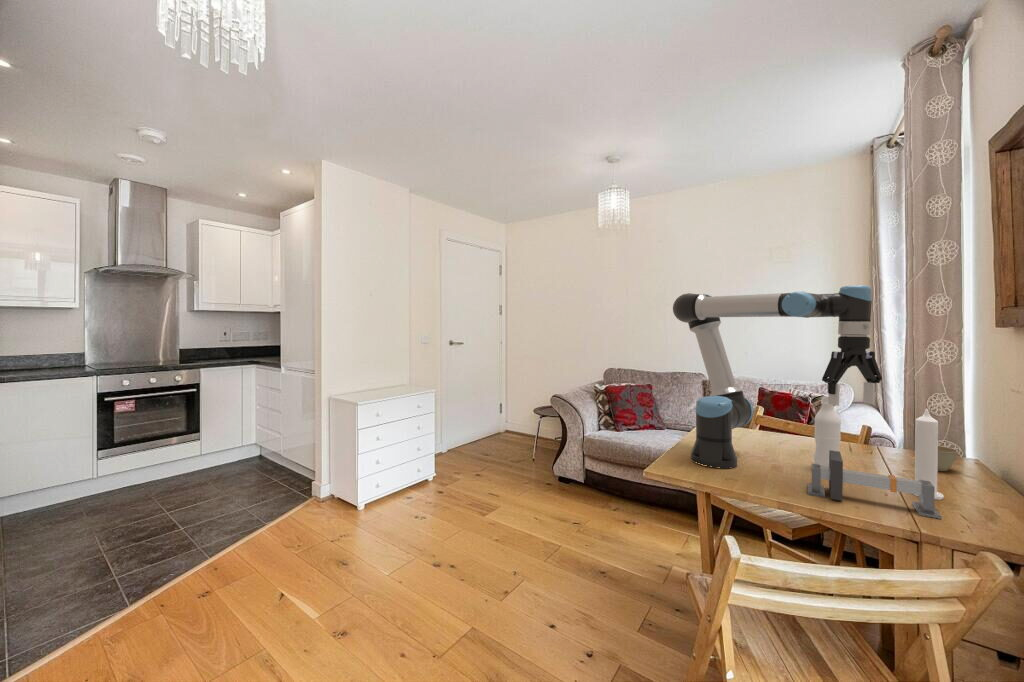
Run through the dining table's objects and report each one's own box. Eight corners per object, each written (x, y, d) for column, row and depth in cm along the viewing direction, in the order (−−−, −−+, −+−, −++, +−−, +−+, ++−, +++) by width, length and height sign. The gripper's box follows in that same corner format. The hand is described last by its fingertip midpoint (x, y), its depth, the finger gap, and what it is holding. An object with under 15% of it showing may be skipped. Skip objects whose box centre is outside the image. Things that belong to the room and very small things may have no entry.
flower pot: (937, 464, 140) (938, 444, 140) (967, 474, 130) (967, 452, 130) (906, 463, 141) (907, 443, 141) (933, 473, 131) (934, 452, 131)
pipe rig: (807, 494, 116) (807, 467, 116) (807, 485, 122) (807, 460, 122) (941, 519, 100) (941, 488, 99) (933, 507, 106) (933, 479, 106)
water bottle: (841, 474, 131) (841, 399, 130) (813, 470, 135) (814, 397, 134) (840, 468, 136) (840, 396, 136) (813, 464, 141) (814, 394, 140)
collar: (830, 498, 111) (831, 459, 111) (828, 486, 120) (829, 450, 120) (842, 500, 110) (842, 461, 110) (839, 488, 119) (839, 451, 118)
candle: (906, 487, 120) (907, 405, 119) (940, 493, 115) (942, 408, 115) (910, 495, 114) (911, 409, 114) (946, 501, 110) (947, 412, 109)
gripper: (833, 336, 116) (830, 408, 117) (899, 336, 121) (896, 404, 122) (809, 335, 124) (807, 403, 125) (872, 335, 129) (869, 400, 130)
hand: (851, 404), depth 123 cm, fingers open, 13 cm apart
